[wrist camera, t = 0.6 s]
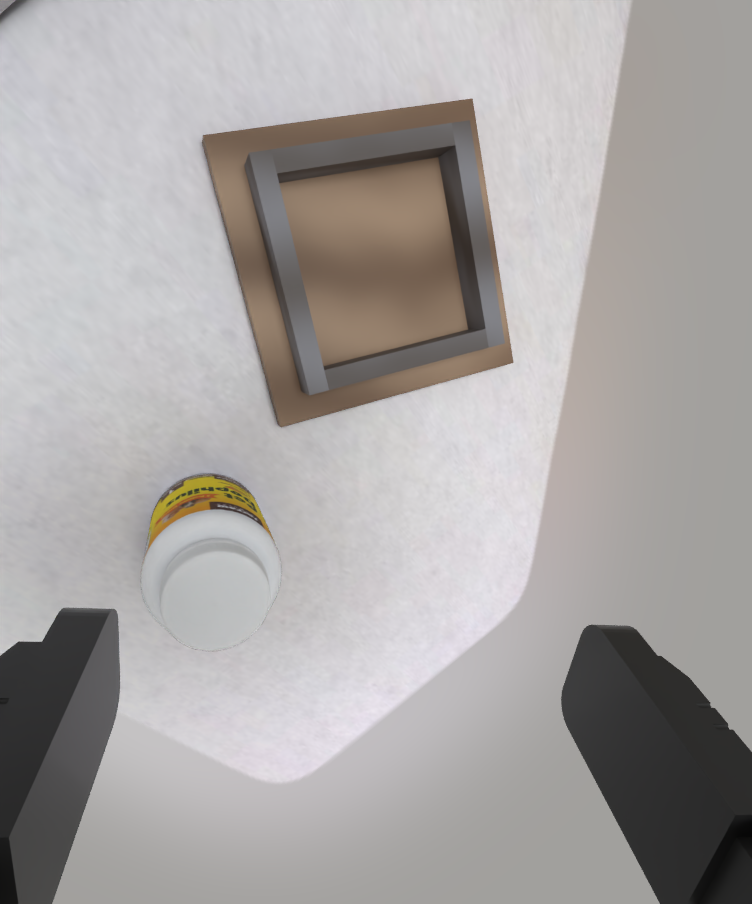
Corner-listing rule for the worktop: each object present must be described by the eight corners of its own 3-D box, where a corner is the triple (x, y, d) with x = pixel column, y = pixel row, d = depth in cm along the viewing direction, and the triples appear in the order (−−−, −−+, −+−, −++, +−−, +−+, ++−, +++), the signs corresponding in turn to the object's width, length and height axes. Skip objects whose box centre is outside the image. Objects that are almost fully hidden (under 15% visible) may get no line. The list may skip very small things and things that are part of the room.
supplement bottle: (262, 472, 31) (299, 530, 22) (255, 570, 32) (287, 667, 22) (152, 468, 29) (138, 530, 20) (147, 572, 30) (132, 679, 21)
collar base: (202, 142, 27) (204, 119, 25) (463, 105, 31) (491, 82, 28) (278, 424, 31) (287, 432, 28) (504, 362, 35) (532, 363, 32)
